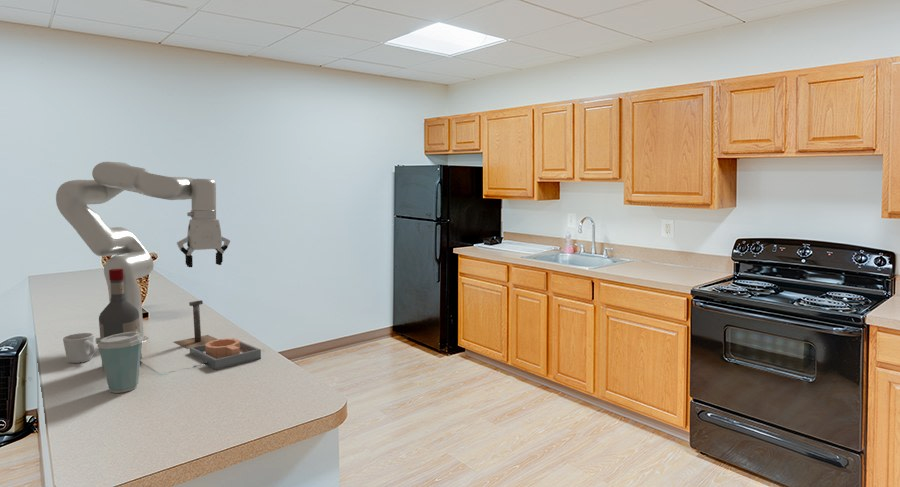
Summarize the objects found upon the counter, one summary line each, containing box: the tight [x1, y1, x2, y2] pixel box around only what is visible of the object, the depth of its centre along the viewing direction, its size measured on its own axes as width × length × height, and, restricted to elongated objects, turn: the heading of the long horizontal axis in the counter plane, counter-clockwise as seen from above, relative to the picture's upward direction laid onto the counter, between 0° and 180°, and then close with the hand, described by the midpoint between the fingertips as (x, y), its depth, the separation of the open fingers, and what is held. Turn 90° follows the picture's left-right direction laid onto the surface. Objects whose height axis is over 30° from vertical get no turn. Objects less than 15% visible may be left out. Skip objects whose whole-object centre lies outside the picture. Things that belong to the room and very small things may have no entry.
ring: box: [205, 338, 241, 359], centre depth 174 cm, size 10×14×4 cm
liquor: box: [98, 269, 143, 369], centre depth 165 cm, size 9×9×30 cm
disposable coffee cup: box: [97, 332, 144, 394], centre depth 148 cm, size 11×11×15 cm
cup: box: [62, 332, 95, 364], centre depth 171 cm, size 11×8×8 cm
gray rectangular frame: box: [189, 338, 262, 371], centre depth 175 cm, size 15×19×3 cm
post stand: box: [173, 299, 219, 350], centre depth 188 cm, size 12×12×15 cm
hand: (204, 265), depth 185 cm, fingers open, 9 cm apart
